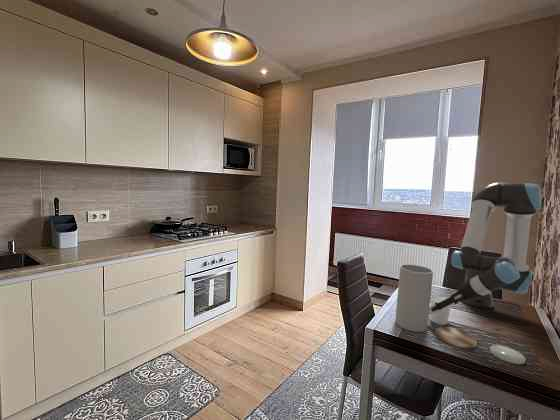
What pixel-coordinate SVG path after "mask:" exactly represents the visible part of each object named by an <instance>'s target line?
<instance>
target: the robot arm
mask: <svg viewBox="0 0 560 420" xmlns="http://www.w3.org/2000/svg"><path fill="white" fill-rule="evenodd" d="M471 208H472V209H471V213H470V217H469V219H468V222H467V225H466V229H465V233H464V237H463V239H462V242H461V246H460V248H459V249H460V250H454V251H453V252H452V254H451V259H450V261H451V262H450V263H451V265H452V266H453V267H454V268H456V269H461V270H465V277H464V282H462V284H461V285H460V287H461V289H460V290H458V291H456V292H455V293H453V294H451V295H450V296H449V297H448V298H446V299H445V300H443V301H441V302H439V303H437V302H435V305H433V306H431V305H430V306H429V316H430V315H431V314H433V313H435V312H437V311H439V310H441V309H442V308H444V307H446V306H448V305H450V304H451V306H452V305H453V304H454V305H457V304H458V303H460V302H461V303H464V304H466V305H468V306H472V307H476V308H479V309H480V308H481V309H493V307H494V299H493V295H492V293H493V292H495V291H497V290H499V289H500V290H504V291H507V292H511V293H514V294H516V293H517V294H521V295H525V294H526V293H528V290H529V288H530V284H531V280H532V277H533V276H534V272H533V271H531V270H530V266H529V265H527V255H528V247H529V240H530V229H531V220H532V217H533V216H534V215H536V214H537V211H540V210H542V190H541V187H540V185H539V184H536V183H528V182H526V183H525V182H493V183H491V184H488V185H486V186H484V187H482V188H481V189H480V190H479V191H478V192H477V193H476V194H475V196H473V199H472V201H471ZM496 208H503V212H504V213H505V214H506V216H507V217H506V226H505V236H504V247H503V256H498V257H493V256H489V255H487V256H486V255H482V254H481V252H482V248H483V245H484V241H485V237H486V234H487V230H488V226H489V223H490V219H491V215H492V212H494V211H495V209H496Z"/></svg>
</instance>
